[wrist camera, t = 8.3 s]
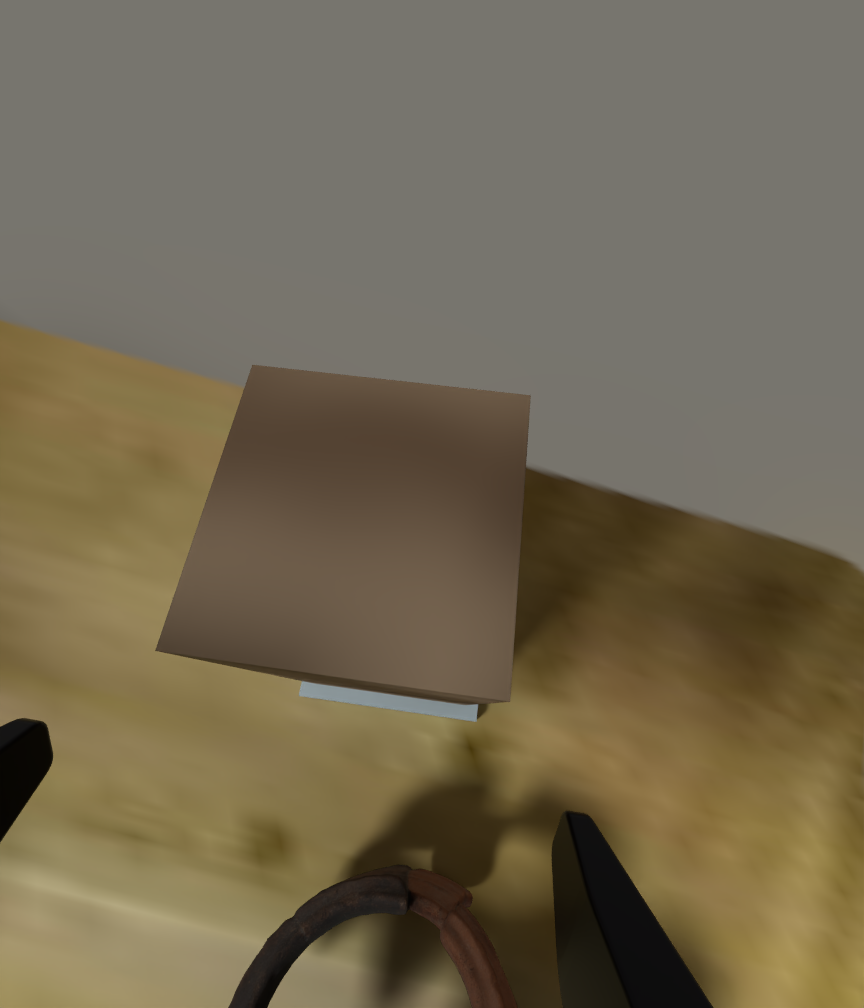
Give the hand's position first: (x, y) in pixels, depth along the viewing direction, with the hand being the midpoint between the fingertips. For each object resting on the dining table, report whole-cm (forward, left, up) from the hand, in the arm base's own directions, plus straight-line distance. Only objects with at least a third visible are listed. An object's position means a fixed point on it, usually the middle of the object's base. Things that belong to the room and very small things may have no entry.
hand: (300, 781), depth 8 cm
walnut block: (+3, -3, -11) cm, 12 cm away
